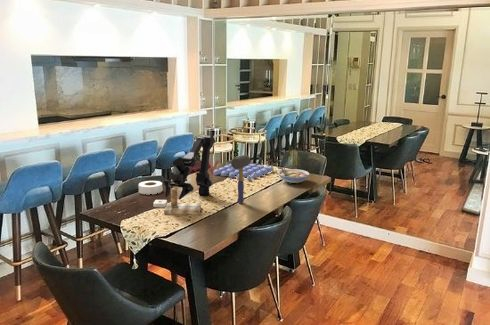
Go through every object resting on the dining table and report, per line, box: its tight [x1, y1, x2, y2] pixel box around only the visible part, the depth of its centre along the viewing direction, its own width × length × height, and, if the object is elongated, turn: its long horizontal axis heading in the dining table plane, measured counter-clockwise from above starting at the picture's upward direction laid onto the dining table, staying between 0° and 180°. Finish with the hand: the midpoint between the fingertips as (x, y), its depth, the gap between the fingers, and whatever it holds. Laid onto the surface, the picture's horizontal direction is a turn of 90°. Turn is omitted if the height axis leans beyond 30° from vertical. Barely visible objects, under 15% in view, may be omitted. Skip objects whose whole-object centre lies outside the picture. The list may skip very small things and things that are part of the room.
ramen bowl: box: [277, 167, 310, 184], centre depth 293 cm, size 25×23×8 cm
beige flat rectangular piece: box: [163, 202, 202, 215], centre depth 234 cm, size 20×12×3 cm, turn 91°
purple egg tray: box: [212, 163, 273, 181], centre depth 318 cm, size 35×34×5 cm
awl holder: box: [152, 199, 168, 208], centre depth 243 cm, size 7×7×2 cm
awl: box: [170, 187, 178, 208], centre depth 233 cm, size 4×4×13 cm
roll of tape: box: [138, 180, 163, 196], centre depth 271 cm, size 16×16×6 cm
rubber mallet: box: [230, 154, 251, 204], centre depth 245 cm, size 12×8×30 cm, turn 146°
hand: (172, 198), depth 231 cm, fingers open, 9 cm apart
